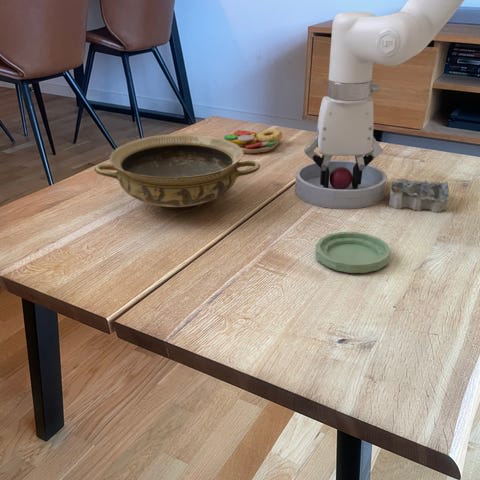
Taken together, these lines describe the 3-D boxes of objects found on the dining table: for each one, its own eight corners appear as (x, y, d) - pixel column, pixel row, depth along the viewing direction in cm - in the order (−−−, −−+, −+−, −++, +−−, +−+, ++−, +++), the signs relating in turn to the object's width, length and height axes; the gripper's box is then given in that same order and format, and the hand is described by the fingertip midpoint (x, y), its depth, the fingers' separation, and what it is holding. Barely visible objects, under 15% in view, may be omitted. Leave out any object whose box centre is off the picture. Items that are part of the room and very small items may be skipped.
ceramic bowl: (89, 233, 95) (78, 177, 90) (111, 184, 115) (104, 135, 109) (263, 229, 96) (264, 173, 90) (256, 180, 116) (256, 132, 110)
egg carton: (385, 208, 103) (388, 187, 101) (389, 193, 109) (392, 173, 106) (446, 214, 100) (450, 192, 98) (446, 199, 106) (451, 178, 104)
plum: (349, 185, 111) (351, 163, 109) (352, 193, 108) (354, 171, 105) (327, 185, 111) (328, 163, 109) (330, 193, 108) (331, 171, 105)
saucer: (380, 241, 91) (381, 231, 90) (395, 275, 82) (397, 264, 81) (312, 242, 91) (313, 232, 90) (320, 275, 82) (320, 264, 81)
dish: (374, 175, 117) (376, 159, 115) (393, 208, 103) (396, 190, 101) (292, 176, 117) (293, 160, 115) (299, 209, 103) (300, 191, 101)
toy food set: (286, 142, 138) (287, 128, 136) (269, 157, 128) (269, 143, 126) (236, 137, 142) (236, 124, 140) (216, 152, 132) (216, 138, 130)
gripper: (391, 85, 102) (379, 181, 112) (299, 86, 103) (295, 181, 113) (401, 94, 96) (387, 194, 106) (303, 96, 96) (298, 195, 107)
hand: (339, 187), depth 109 cm, fingers open, 5 cm apart
